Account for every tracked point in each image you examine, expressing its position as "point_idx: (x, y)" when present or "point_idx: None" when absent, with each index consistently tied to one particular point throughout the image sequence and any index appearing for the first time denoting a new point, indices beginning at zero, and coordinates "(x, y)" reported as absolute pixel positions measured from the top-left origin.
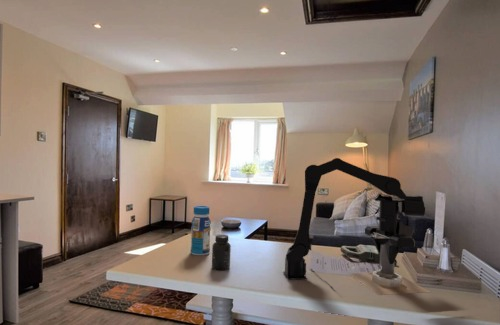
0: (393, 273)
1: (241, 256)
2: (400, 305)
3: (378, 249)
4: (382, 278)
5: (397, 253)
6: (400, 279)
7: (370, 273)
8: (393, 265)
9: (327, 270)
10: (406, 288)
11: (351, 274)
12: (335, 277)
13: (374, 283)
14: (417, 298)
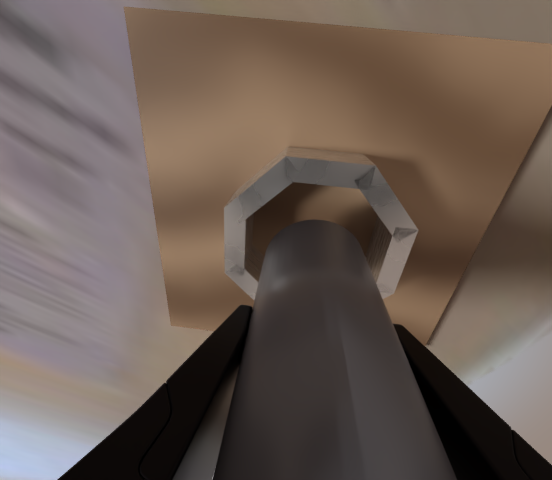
0: (361, 248)
1: (10, 464)
2: (502, 312)
3: (216, 461)
4: None
5: (541, 462)
6: (413, 223)
7: (166, 224)
8: (379, 292)
9: (98, 340)
10: (432, 186)
11: (181, 319)
12: (180, 353)
13: None
14: (512, 183)
